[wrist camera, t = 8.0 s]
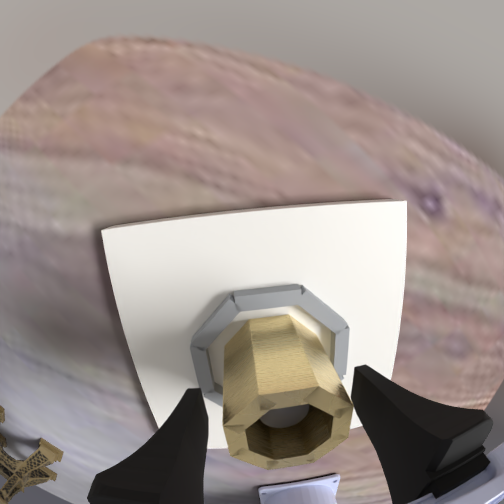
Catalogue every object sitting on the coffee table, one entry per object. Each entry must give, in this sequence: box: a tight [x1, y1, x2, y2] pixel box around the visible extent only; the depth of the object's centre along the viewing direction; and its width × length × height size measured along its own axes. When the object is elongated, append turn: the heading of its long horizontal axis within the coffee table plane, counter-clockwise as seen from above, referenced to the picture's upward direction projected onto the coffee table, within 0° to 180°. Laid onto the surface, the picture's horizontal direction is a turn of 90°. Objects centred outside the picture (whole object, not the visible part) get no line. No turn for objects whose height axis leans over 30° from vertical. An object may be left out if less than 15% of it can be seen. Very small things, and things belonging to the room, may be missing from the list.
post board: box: [101, 199, 407, 449], centre depth 14 cm, size 16×16×6 cm
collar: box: [222, 314, 354, 470], centre depth 13 cm, size 5×5×6 cm
